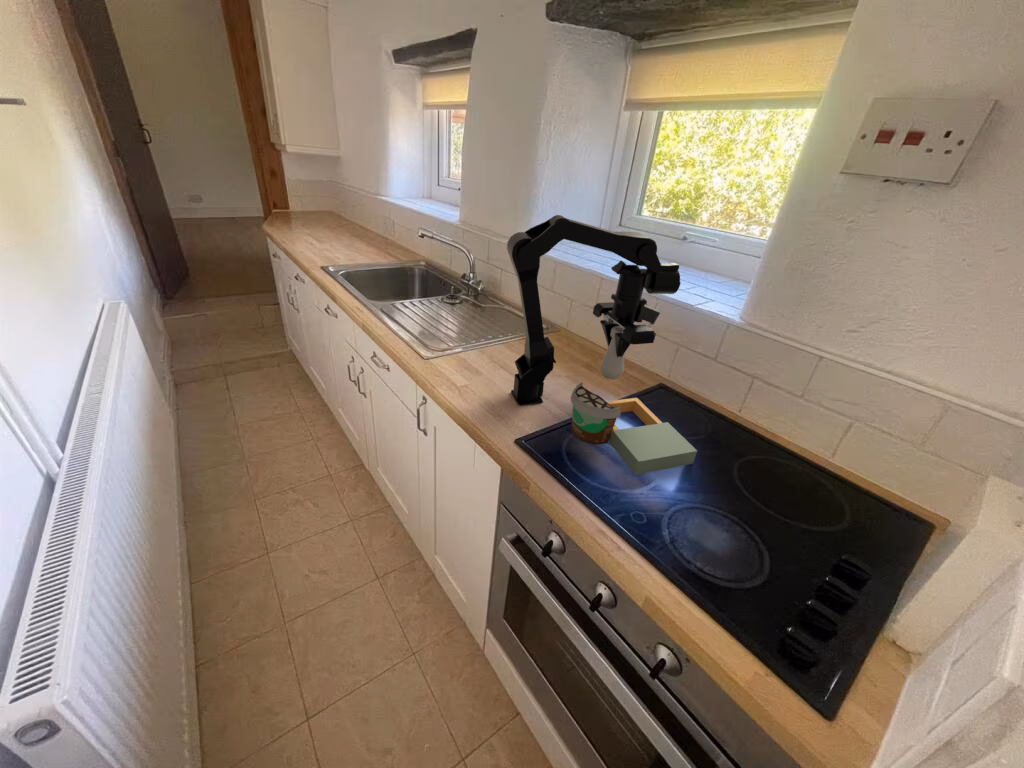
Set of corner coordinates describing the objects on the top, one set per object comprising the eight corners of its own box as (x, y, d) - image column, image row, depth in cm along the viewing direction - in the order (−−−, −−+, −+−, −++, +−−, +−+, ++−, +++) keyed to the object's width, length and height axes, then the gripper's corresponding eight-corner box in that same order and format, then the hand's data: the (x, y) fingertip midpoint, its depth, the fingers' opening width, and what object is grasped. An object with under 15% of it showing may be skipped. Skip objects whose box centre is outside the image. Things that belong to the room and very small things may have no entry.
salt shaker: (605, 367, 107) (615, 321, 100) (625, 375, 104) (637, 328, 97) (594, 375, 103) (604, 327, 96) (615, 383, 100) (626, 335, 93)
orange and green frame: (634, 474, 81) (638, 461, 79) (586, 414, 98) (589, 402, 96) (692, 463, 85) (697, 450, 83) (636, 407, 102) (640, 395, 100)
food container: (554, 424, 93) (560, 388, 88) (574, 417, 97) (580, 381, 91) (592, 456, 85) (601, 417, 80) (612, 446, 88) (622, 408, 83)
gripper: (685, 306, 87) (665, 369, 95) (637, 279, 102) (623, 336, 110) (640, 308, 84) (623, 374, 92) (597, 280, 99) (586, 339, 107)
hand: (615, 354), depth 100 cm, fingers closed on salt shaker, 3 cm apart
